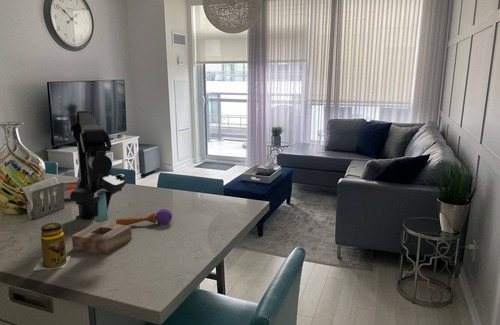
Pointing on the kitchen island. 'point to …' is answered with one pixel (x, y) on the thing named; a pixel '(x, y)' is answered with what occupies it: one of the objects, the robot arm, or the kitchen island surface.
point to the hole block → (101, 237)
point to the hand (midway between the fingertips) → (100, 214)
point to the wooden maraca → (148, 218)
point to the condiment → (52, 248)
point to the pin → (101, 208)
